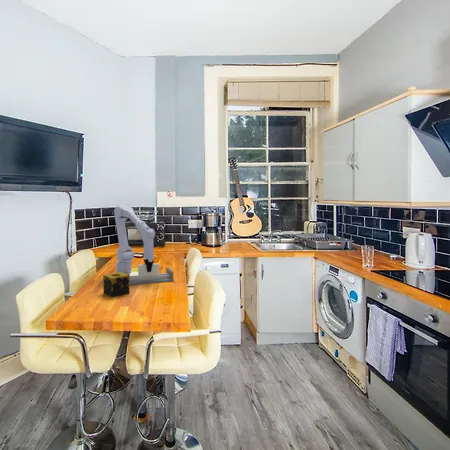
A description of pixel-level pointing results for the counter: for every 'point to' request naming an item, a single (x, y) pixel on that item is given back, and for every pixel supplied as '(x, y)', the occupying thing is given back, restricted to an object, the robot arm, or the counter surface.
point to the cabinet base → (151, 278)
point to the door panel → (143, 270)
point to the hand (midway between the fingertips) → (148, 271)
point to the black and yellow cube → (116, 284)
